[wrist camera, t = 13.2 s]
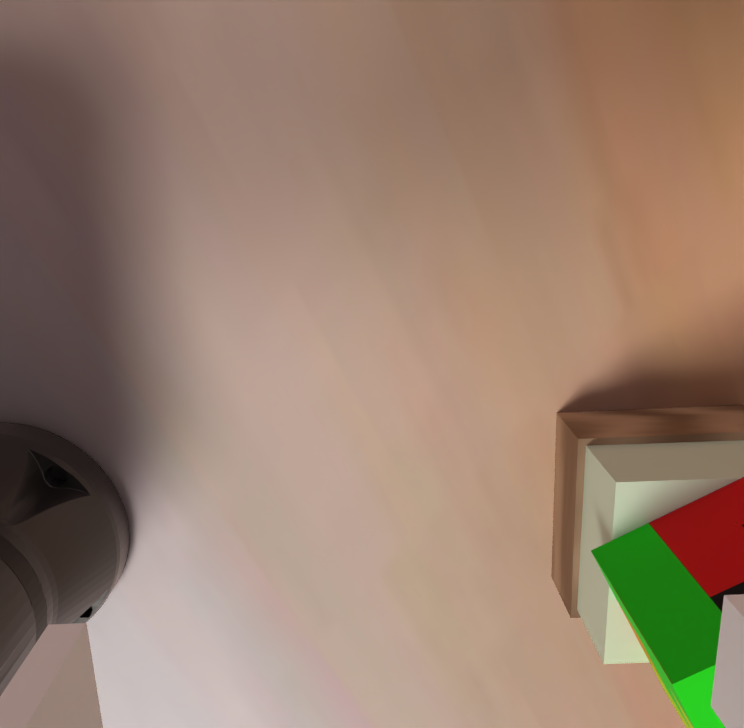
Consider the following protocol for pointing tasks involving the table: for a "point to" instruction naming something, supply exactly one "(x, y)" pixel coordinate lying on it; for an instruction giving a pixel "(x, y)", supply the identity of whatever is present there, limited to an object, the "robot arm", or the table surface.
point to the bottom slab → (617, 430)
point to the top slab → (638, 517)
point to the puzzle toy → (681, 592)
